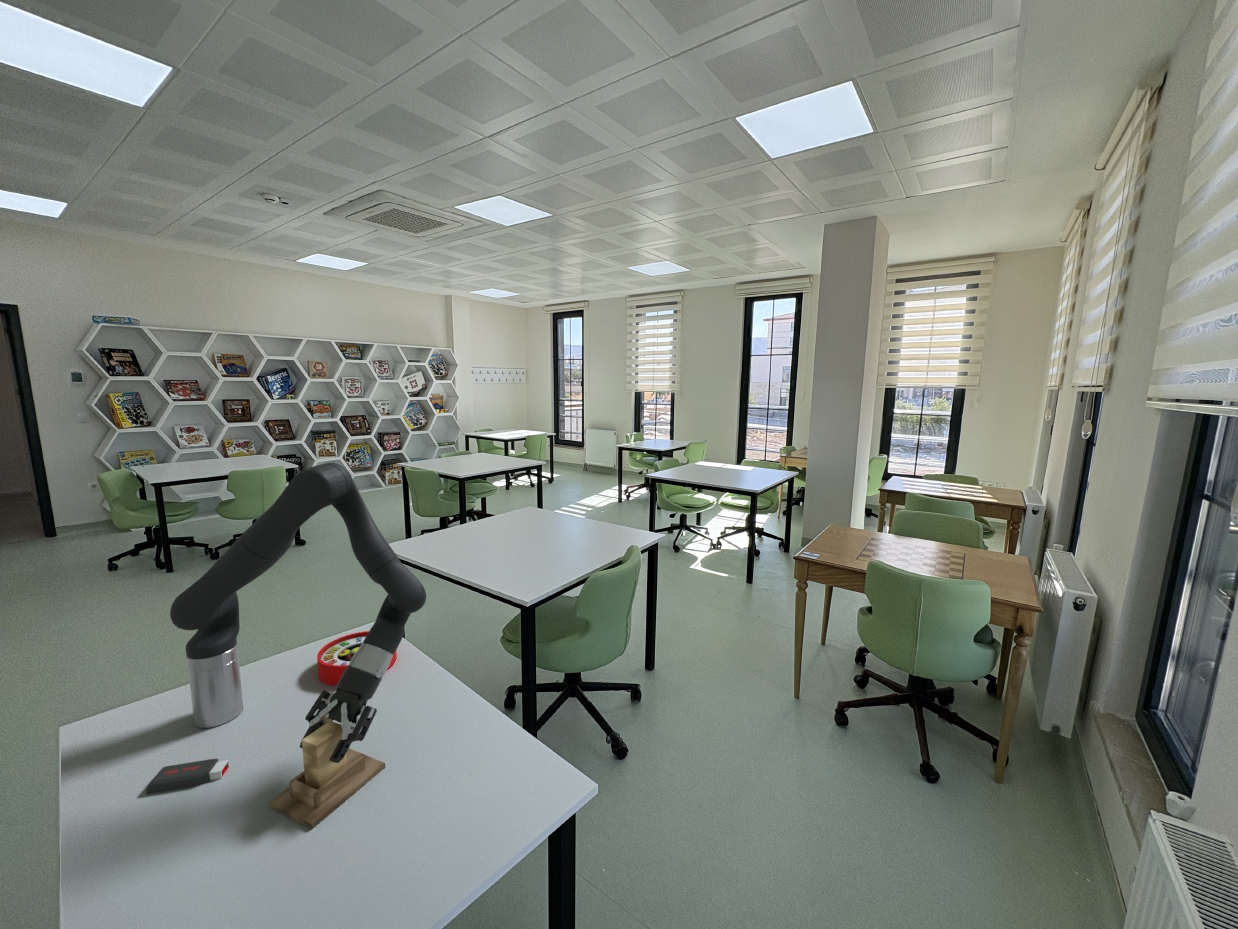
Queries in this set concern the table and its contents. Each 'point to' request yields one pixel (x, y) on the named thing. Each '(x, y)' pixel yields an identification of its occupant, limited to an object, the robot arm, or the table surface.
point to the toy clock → (340, 657)
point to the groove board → (326, 791)
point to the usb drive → (187, 775)
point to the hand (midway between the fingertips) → (318, 755)
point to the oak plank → (322, 755)
